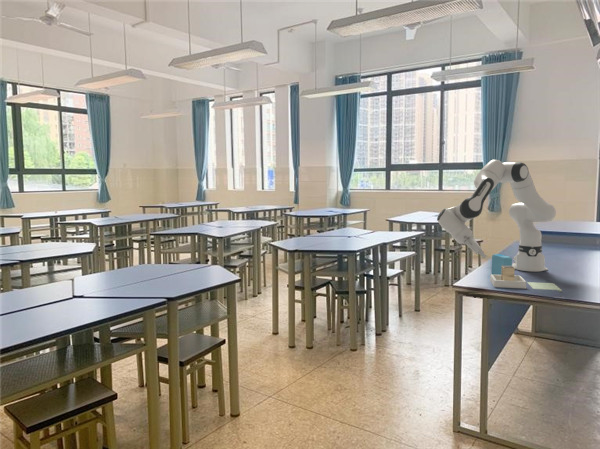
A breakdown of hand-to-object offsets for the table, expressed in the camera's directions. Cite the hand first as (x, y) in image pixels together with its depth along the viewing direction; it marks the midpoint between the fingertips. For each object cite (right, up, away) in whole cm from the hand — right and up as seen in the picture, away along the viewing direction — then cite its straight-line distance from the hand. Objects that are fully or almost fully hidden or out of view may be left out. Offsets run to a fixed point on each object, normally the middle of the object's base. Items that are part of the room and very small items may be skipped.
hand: (484, 255), depth 216 cm
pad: (+26, -15, -6) cm, 31 cm away
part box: (+11, -14, -2) cm, 18 cm away
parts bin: (+11, -15, -2) cm, 18 cm away
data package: (+16, -13, +16) cm, 27 cm away
